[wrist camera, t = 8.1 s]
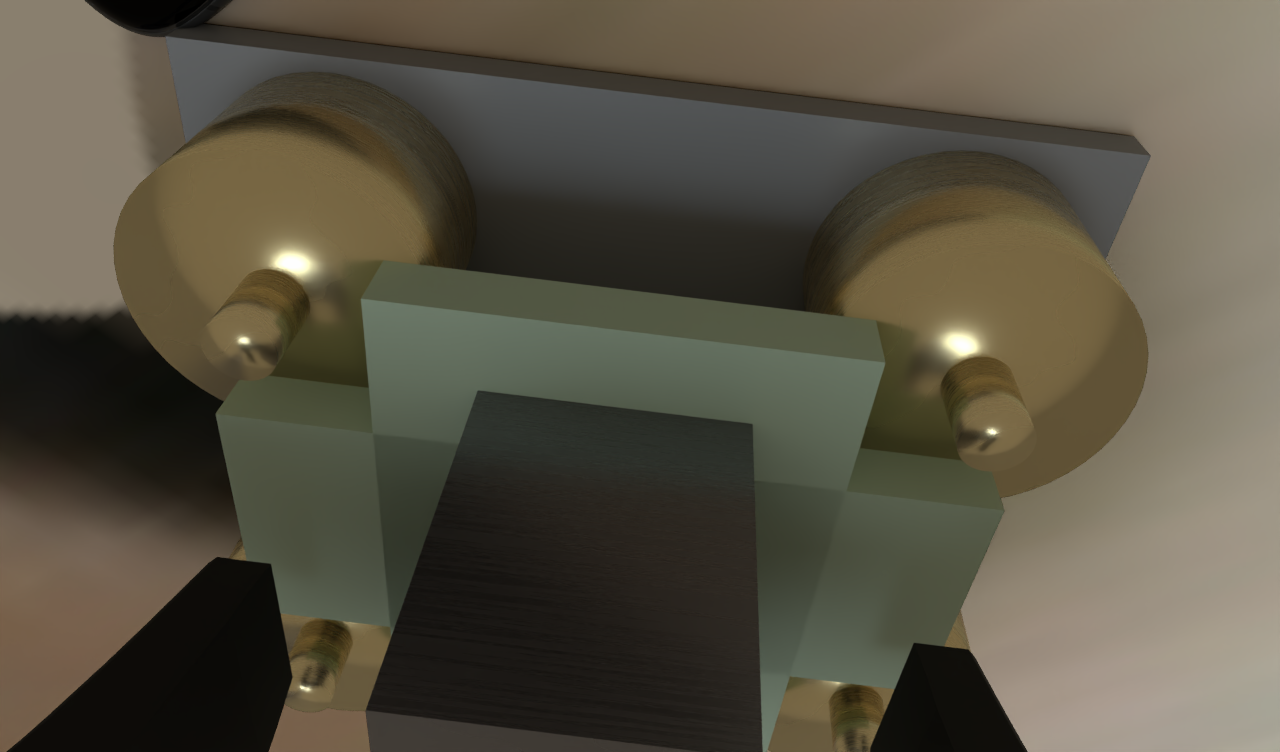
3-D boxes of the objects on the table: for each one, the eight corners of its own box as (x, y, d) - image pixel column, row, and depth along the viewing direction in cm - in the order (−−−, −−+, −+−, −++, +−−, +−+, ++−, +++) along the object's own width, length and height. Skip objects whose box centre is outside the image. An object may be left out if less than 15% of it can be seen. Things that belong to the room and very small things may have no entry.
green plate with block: (294, 646, 15) (138, 996, 11) (219, 240, 11) (-76, 570, 7) (883, 719, 15) (937, 1095, 11) (1040, 341, 10) (1221, 730, 7)
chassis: (284, 564, 18) (187, 757, 15) (186, 21, 12) (-8, 147, 9) (920, 642, 18) (962, 853, 15) (1134, 136, 12) (1279, 304, 9)
